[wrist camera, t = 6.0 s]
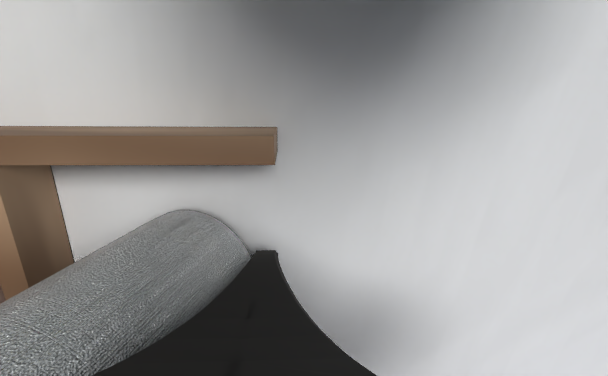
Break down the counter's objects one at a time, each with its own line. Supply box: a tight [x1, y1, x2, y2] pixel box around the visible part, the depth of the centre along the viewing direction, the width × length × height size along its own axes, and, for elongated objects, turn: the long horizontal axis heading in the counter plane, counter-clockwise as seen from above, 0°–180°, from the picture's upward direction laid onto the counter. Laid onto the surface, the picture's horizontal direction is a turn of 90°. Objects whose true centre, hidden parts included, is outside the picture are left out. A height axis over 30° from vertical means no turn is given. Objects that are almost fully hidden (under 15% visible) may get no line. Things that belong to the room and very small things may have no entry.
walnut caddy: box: [0, 126, 277, 300], centre depth 11 cm, size 10×16×2 cm, turn 89°
